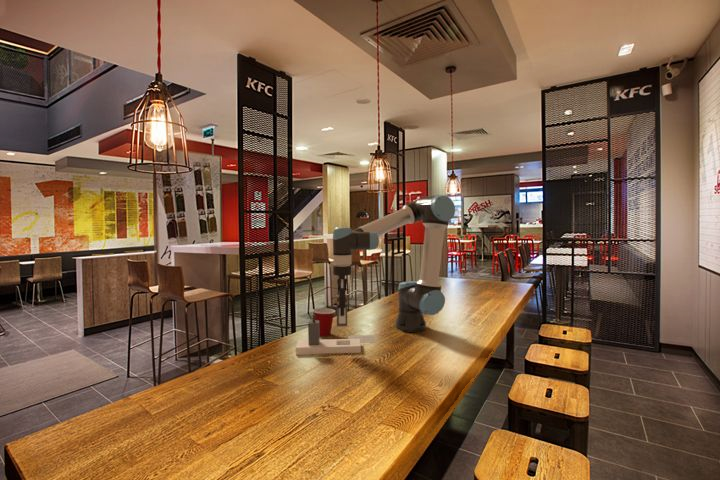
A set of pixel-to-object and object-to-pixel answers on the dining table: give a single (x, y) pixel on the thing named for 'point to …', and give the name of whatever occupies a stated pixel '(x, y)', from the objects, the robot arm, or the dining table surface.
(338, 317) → the plug
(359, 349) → the socket stand
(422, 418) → the dining table surface
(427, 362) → the dining table surface
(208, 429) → the dining table surface
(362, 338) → the white flat slab
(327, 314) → the plastic cup
